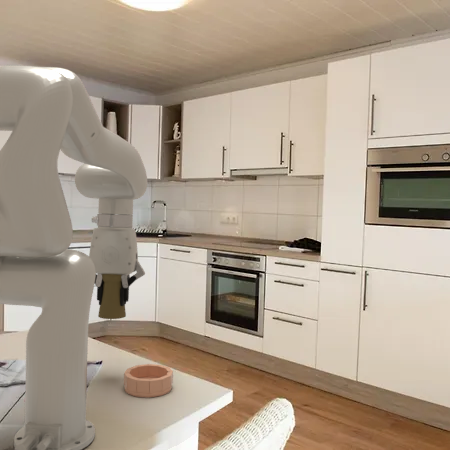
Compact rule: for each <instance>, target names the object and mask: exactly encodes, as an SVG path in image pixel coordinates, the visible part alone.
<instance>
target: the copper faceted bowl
mask: <svg viewBox="0 0 450 450" xmlns="http://www.w3.org/2000/svg"><path fill="white" fill-rule="evenodd" d="M123 373H124V374H123V385H124V391H125V393H126V394H128V395H129V396H133V397H136V398H145V399H147V398H149V399H150V398H157V397H162V396H165V395H167V394H168V393H169V394H170V392H171V391H172V389H173V383H174V370H172V368H171V367H169V366H165V365H162V364H155V363H154V364H153V363H145V364H137V365H133V366H131V367H128V368H127V369H126V370H125V371H124V372H123Z"/></svg>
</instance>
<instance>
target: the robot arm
mask: <svg viewBox="0 0 450 450" xmlns="http://www.w3.org/2000/svg"><path fill="white" fill-rule="evenodd" d="M0 131H4V132H6V131H7V132H8V131H9V132H10V131H11V133H10V134H9V137H8V139H7V140H6V141H5V143H4V144H3V146H2V147H1V148H0V304H1V305H9V306H10V305H11V306H27V307H36V308H41V309H42V311H41V313H40V315H39V316H38V317H37V318H36V319H35V320H34V322H33V323H32V325H31V326H30V327H29V329H28V332H27V334H26V343H25V348H26V349H25V390H24V391H25V394H24V396H25V400H24V426H23V427H21V428H19V430H18V431H17V432H16V433H15V434H14V437H13V447H14V450H84V449H85V448H86V447H88V446H89V445H90V444H91V443H92V442H93V441H94V439H95V437H96V428H95V425H94V424H93V423H92V422H91V421H90V420H89V419H86V418H87V416H86V415H87V385H88V384H87V383H88V380H87V379H88V354H89V353H88V350H89V349H88V346H89V345H88V343H89V342H88V341H89V340H88V339H89V319H90V311H91V305H92V297H93V295H94V293H93V292H94V288H95V286H96V288H97V290H96V301H98V305H99V306H100V305H101V302H102V296H103V284H104V281H103V280H102V274H118V275H121V278H122V284H123V285H122V288H120V306H124V305H125V306H126V304H127V302H129V295H130V294H129V293H130V292H129V291H130V286H131V285H132V284H133V283H135V282H136V281H137V280H138V279H140V278H141V277H143V276H145V274H146V272H145V270H144V268H143V267H142V265H141V263H140V262H139V260H138V259H139V258H138V257H139V256H138V241H137V239H138V238H137V233H136V229H134V228H133V224H134V223H133V217H134V213H133V212H134V200H137V199H141V198H142V197H143V196H144V194H146V191H147V187H148V176H147V172H146V168H145V165H144V162H143V160H142V156H141V155H140V153H139V151H138V149H136V147H135V146H133V144H131V142H129V141H127V140H125V139H124V138H122V137H121V136H120V135H118V134H117V133H115V132H113V131H111V130H110V129H108V128H107V127H105V126H104V125H103V124H102V121H101V119H100V116H99V114H98V113H97V111H96V108H95V106H94V104H93V102H92V100H91V98H90V94H89V93H88V91H87V89H86V87H85V85H84V82H83V81H82V80H81V78H80V77H79V76H78V75H77V74H76V73H75V72H74V71H71V70H69V69H67V68H63V67H56V66H54V67H53V66H36V65H35V66H34V65H0ZM60 152H62V153H63V154H64V155H65V156H66V157H68V158H69V159H72V160H74V161H76V162H80V163H82V164H81V165H80V166H79V167H78V169H77V170H76V172H75V175H74V185H75V187H76V189H77V191H78V193H80V194H81V195H82V196H84V197H86V198H88V199H95V200H98V210H97V211H98V212H97V215H95V216H92V217H91V223H92V224H93V223H95V224H96V226H97V227H96V228H95V227H94V228H93V231H92V235H91V241H90V247H89V255H87V254H86V253H85V252H83V251H80V250H76V249H72V248H70V246H71V244H72V241H73V233H74V232H73V223H72V219H71V215H70V213H69V208H68V205H67V200H66V197H65V193H64V190H63V187H62V183H61V178H60V175H59V170H58V165H59V164H58V161H59V155H60ZM134 272H136V273H134ZM133 273H134V274H133ZM130 274H133V275H132V276H130Z"/></svg>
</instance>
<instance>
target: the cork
mask: <svg viewBox="0 0 450 450" xmlns="http://www.w3.org/2000/svg"><path fill="white" fill-rule="evenodd" d="M102 280H103V281H104V284H103V296H102V302H101V305H99V310H98V315H97V316H98V318H100V319H104V320H119V319H124V318H125V317H126V316H127V313H126V312H127V311H126V304H125V305H124V306H120V288H122V285H123V284H122V278H121V275H118V274H102Z"/></svg>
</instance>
